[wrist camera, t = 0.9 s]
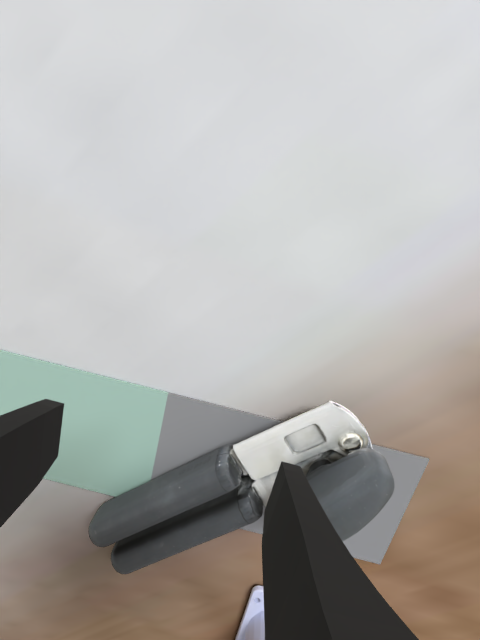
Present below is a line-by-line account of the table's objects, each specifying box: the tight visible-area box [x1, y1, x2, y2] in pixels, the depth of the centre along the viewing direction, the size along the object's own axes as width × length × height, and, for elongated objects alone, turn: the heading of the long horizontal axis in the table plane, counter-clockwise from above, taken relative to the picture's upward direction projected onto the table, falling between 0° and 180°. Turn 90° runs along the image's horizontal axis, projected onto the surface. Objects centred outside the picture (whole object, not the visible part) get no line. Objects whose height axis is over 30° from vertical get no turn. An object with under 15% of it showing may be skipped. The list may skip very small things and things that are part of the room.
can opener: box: [89, 401, 395, 574], centre depth 20 cm, size 19×5×6 cm, turn 121°
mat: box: [0, 350, 429, 564], centre depth 23 cm, size 9×39×1 cm, turn 76°
